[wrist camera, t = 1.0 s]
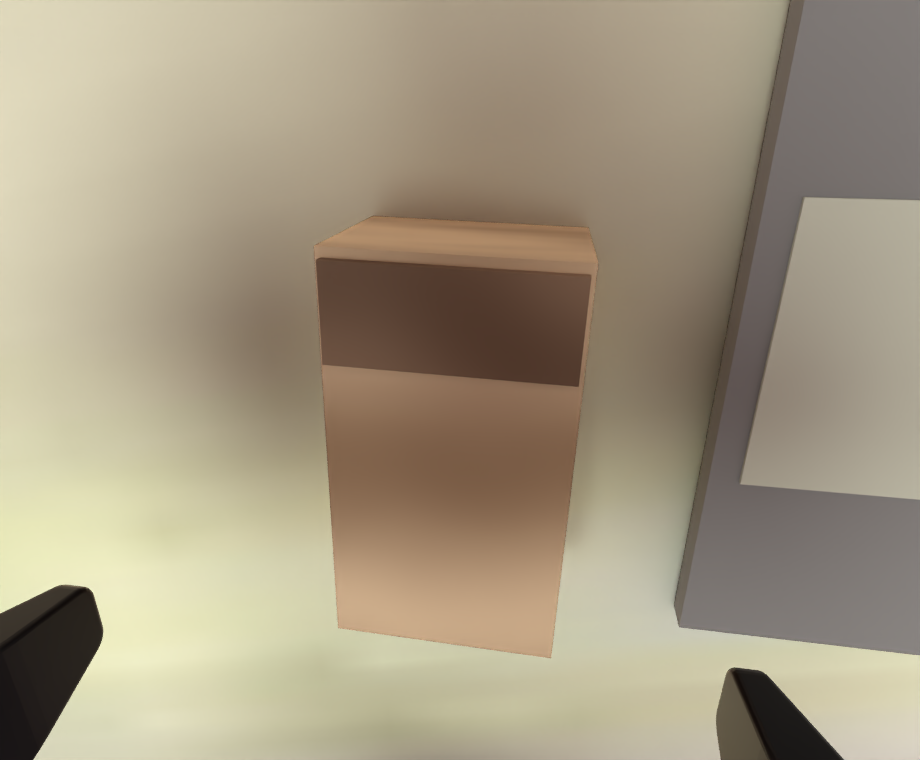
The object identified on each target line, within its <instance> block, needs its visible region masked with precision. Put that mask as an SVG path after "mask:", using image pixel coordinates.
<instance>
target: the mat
mask: <svg viewBox="0 0 920 760" xmlns="http://www.w3.org/2000/svg"><path fill="white" fill-rule="evenodd" d="M674 607H675V612H676V616H677V620H678V624H679V627H683V628H691V629H700V630H708V631H717V632H725V633H734V634H742V635H751V636H759V637H768V638H776V639H785V640H794V641H802V642H811V643H819V644H828V645H836V646H845V647H853V648H862V649H870V650H879V651H888V652H896V653H905V654H913V655H920V0H791V1H790V6H789V12H788V17H787V22H786V27H785V32H784V38H783V43H782V48H781V53H780V58H779V64H778V69H777V74H776V79H775V84H774V90H773V95H772V100H771V105H770V110H769V116H768V121H767V126H766V131H765V136H764V141H763V147H762V152H761V157H760V162H759V167H758V173H757V178H756V183H755V188H754V193H753V199H752V204H751V209H750V214H749V219H748V225H747V230H746V235H745V240H744V245H743V251H742V256H741V261H740V266H739V271H738V276H737V282H736V287H735V292H734V297H733V302H732V308H731V313H730V318H729V323H728V328H727V334H726V339H725V344H724V349H723V354H722V360H721V365H720V370H719V375H718V380H717V386H716V391H715V396H714V401H713V406H712V412H711V417H710V422H709V427H708V432H707V438H706V443H705V448H704V453H703V458H702V463H701V469H700V474H699V479H698V484H697V489H696V495H695V500H694V505H693V510H692V515H691V521H690V526H689V531H688V536H687V541H686V547H685V552H684V557H683V562H682V567H681V573H680V578H679V583H678V588H677V593H676V598H675V604H674Z"/></svg>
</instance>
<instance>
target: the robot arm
mask: <svg viewBox="0 0 920 760" xmlns="http://www.w3.org/2000/svg"><path fill="white" fill-rule="evenodd" d="M102 637H103V626H102V622H101V619H100V615H99V612H98V608H97V605H96V601H95V598H94V595H93V592H92V591H91V590H90V589H89V588H86V587H81V586H73V585H60V586H57V587H54V588H52V589H50V590H48V591H46V592H44V593H42V594H40V595H38V596H36V597H34V598H32V599H30V600H28V601H25V602H23V603H21V604H19V605H17V606H15V607H13V608H11V609H9V610H7V611H5V612H3V613H1V614H0V760H33V759H34V758H35V756H36V755H37V753H38V752H39V750H40V748H41V747H42V745H43V743H44V742H45V740H46V738H47V737H48V735H49V734H50V732H51V730H52V728H53V727H54V725H55V723H56V721H57V720H58V718H59V716H60V715H61V713H62V711H63V709H64V708H65V706H66V704H67V702H68V701H69V699H70V697H71V695H72V694H73V692H74V690H75V688H76V687H77V685H78V683H79V681H80V680H81V678H82V676H83V674H84V673H85V671H86V669H87V667H88V666H89V664H90V662H91V661H92V659H93V657H94V655H95V654H96V652H97V650H98V648H99V646H100V644H101V641H102ZM716 728H717V736H718V743H719V750H720V756H721V760H844V759H843V758H842V757H841V756H840V755H839V754H838V753H837V752H836V750H835V749H834V748H833V747H832V746H831V745H830V744H829V743H828V742H827V741H826V739H825V738H824V737H823V736H822V735H821V734H820V733H819V732H818V731H817V729H816V728H815V727H814V726H813V725H812V724H811V723H810V722H809V721H808V720H807V718H806V717H805V716H804V715H803V714H802V713H801V712H800V711H799V710H798V709H797V707H796V706H795V705H794V704H793V703H792V702H791V701H790V700H789V699H788V698H787V696H786V695H785V694H784V693H783V692H782V691H781V690H780V689H779V688H778V686H777V685H776V684H775V683H774V682H773V681H772V680H771V679H770V678H769V677H768V676H767V675H766V674H765V673H763V672H761V671H758V670H750V669H742V668H731V669H729V670H728V672H727V674H726V677H725V681H724V685H723V689H722V693H721V697H720V701H719V705H718V709H717V715H716Z"/></svg>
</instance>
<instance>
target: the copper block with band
mask: <svg viewBox="0 0 920 760" xmlns="http://www.w3.org/2000/svg"><path fill="white" fill-rule="evenodd" d="M314 259H315V274H316V290H317V306H318V321H319V337H320V352H321V368H322V383H323V399H324V415H325V430H326V446H327V461H328V477H329V492H330V508H331V524H332V539H333V555H334V570H335V586H336V601H337V617H338V628H342V629H349V630H356V631H363V632H370V633H377V634H384V635H391V636H398V637H405V638H412V639H419V640H426V641H433V642H441V643H448V644H455V645H462V646H469V647H476V648H483V649H490V650H497V651H504V652H511V653H518V654H525V655H532V656H539V657H546V658H551V653H552V645H553V636H554V628H555V620H556V611H557V603H558V595H559V586H560V578H561V570H562V562H563V553H564V545H565V537H566V528H567V520H568V512H569V503H570V495H571V487H572V478H573V470H574V462H575V454H576V445H577V437H578V429H579V420H580V412H581V404H582V395H583V387H584V379H585V370H586V362H587V354H588V346H589V337H590V329H591V321H592V312H593V304H594V296H595V287H596V279H597V271H598V260H597V256H596V253H595V249H594V245H593V242H592V238H591V234H590V230H589V228H586V227H567V226H549V225H530V224H512V223H493V222H475V221H456V220H438V219H419V218H401V217H382V216H372V217H370V218H368V219H366V220H364V221H362V222H360V223H358V224H356V225H354V226H352V227H350V228H348V229H346V230H344V231H342V232H340V233H338V234H336V235H334V236H332V237H330V238H328V239H326V240H324V241H322V242H320V243H318V244H316V245H315V246H314Z"/></svg>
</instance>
